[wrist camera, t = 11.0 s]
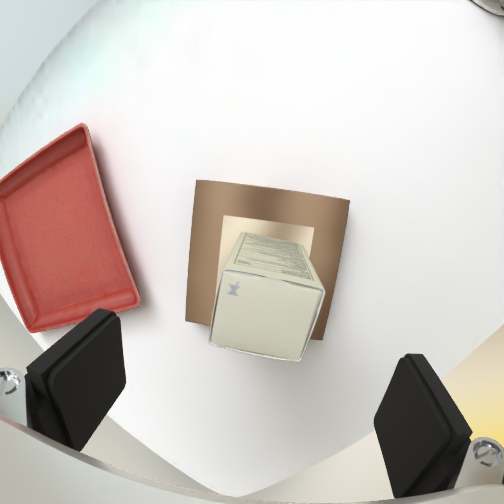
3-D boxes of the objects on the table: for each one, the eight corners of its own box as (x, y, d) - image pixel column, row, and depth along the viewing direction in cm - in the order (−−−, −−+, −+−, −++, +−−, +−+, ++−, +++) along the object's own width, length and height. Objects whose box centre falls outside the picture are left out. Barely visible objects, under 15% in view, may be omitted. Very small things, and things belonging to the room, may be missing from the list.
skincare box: (229, 282, 25) (201, 344, 15) (241, 229, 24) (217, 262, 14) (292, 297, 25) (301, 366, 15) (306, 245, 24) (328, 288, 14)
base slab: (341, 198, 26) (350, 200, 23) (318, 325, 29) (322, 341, 25) (204, 180, 26) (195, 179, 23) (193, 307, 29) (184, 321, 26)
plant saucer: (0, 191, 29) (-18, 194, 25) (101, 123, 26) (84, 118, 23) (43, 324, 32) (28, 335, 29) (156, 293, 30) (143, 306, 26)
